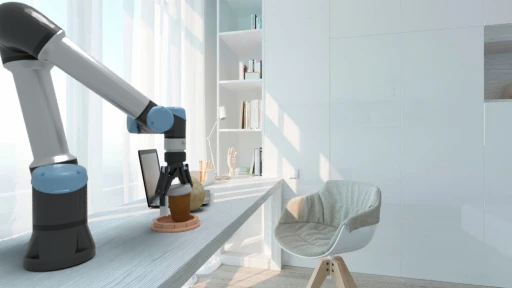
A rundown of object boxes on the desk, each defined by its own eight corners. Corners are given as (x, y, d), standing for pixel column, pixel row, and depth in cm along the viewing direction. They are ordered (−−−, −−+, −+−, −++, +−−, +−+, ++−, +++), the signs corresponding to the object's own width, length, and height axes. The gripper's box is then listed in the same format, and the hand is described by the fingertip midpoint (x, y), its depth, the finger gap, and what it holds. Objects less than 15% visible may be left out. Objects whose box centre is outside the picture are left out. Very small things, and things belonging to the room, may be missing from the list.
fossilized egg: (195, 215, 119) (195, 178, 119) (168, 213, 123) (168, 177, 123) (210, 208, 132) (209, 175, 131) (185, 207, 135) (184, 174, 135)
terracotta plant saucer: (154, 235, 94) (154, 227, 94) (147, 222, 109) (147, 216, 109) (206, 228, 101) (206, 221, 101) (193, 217, 116) (193, 211, 116)
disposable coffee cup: (187, 223, 102) (184, 190, 101) (162, 223, 104) (159, 190, 103) (198, 213, 112) (195, 182, 110) (174, 213, 114) (172, 182, 112)
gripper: (162, 152, 92) (163, 220, 92) (201, 150, 115) (202, 204, 116) (142, 152, 94) (143, 218, 94) (185, 150, 118) (185, 203, 118)
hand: (175, 211), depth 105 cm, fingers open, 13 cm apart
